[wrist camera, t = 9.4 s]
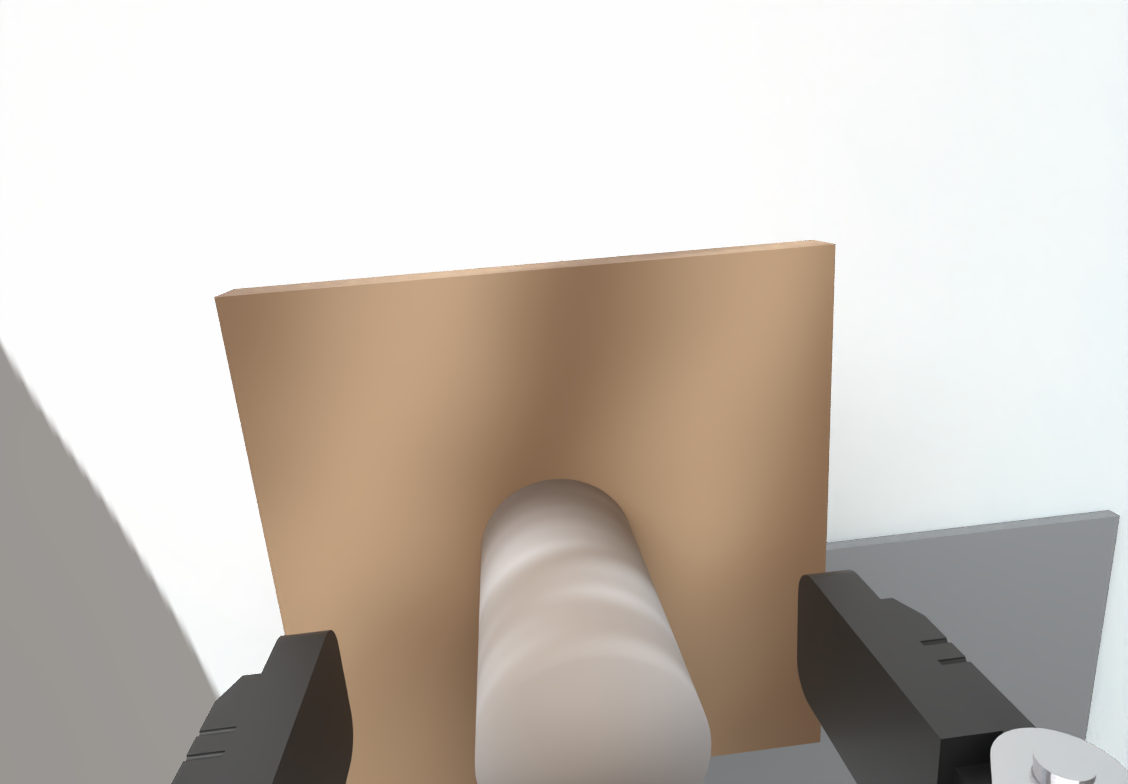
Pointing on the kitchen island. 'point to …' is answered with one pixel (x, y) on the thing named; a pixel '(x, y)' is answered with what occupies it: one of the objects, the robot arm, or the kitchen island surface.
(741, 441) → the lid
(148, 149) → the kitchen island surface
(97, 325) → the kitchen island surface
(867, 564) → the mat
